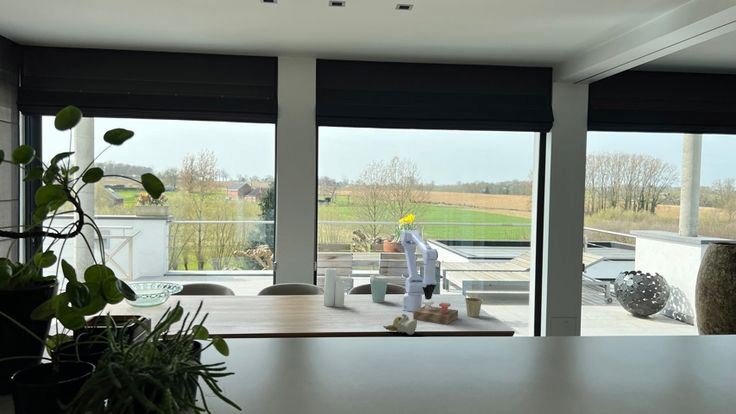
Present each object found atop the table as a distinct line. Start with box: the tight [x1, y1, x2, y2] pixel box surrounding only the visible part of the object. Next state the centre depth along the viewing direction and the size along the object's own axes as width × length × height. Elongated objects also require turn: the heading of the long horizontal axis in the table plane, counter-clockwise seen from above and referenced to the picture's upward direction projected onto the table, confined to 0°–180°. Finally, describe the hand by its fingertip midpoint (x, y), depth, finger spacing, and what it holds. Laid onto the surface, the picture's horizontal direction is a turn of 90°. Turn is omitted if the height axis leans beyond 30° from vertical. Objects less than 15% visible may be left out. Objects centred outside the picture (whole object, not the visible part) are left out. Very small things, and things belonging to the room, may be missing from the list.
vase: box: [323, 267, 346, 308], centre depth 302 cm, size 11×7×20 cm, turn 86°
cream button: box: [421, 299, 435, 310], centre depth 283 cm, size 4×4×5 cm
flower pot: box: [464, 297, 484, 318], centre depth 291 cm, size 9×9×9 cm
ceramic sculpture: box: [383, 313, 418, 336], centre depth 252 cm, size 11×9×15 cm
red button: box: [438, 302, 451, 313], centre depth 279 cm, size 4×4×5 cm
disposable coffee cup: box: [369, 274, 389, 304], centre depth 317 cm, size 11×11×15 cm
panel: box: [412, 305, 459, 325], centre depth 281 cm, size 18×16×4 cm
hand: (428, 299), depth 283 cm, fingers closed
